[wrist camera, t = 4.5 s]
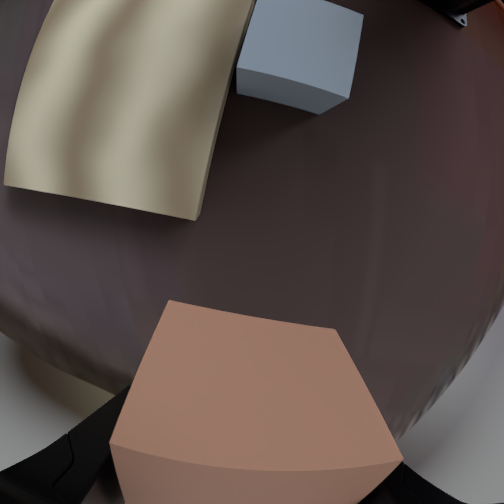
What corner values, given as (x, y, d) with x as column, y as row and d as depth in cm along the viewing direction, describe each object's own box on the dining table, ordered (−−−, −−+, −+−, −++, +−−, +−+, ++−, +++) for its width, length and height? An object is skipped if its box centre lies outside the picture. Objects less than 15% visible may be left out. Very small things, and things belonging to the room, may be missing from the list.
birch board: (253, 6, 13) (255, -9, 11) (200, 214, 17) (195, 220, 15) (68, 5, 12) (56, -4, 10) (20, 181, 16) (3, 185, 14)
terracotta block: (335, 328, 9) (403, 459, 4) (287, 431, 10) (308, 539, 5) (169, 299, 8) (108, 442, 3) (159, 413, 9) (133, 526, 5)
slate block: (333, 47, 14) (363, 15, 10) (318, 114, 16) (348, 98, 11) (256, 25, 14) (262, -16, 9) (236, 93, 15) (236, 67, 10)
